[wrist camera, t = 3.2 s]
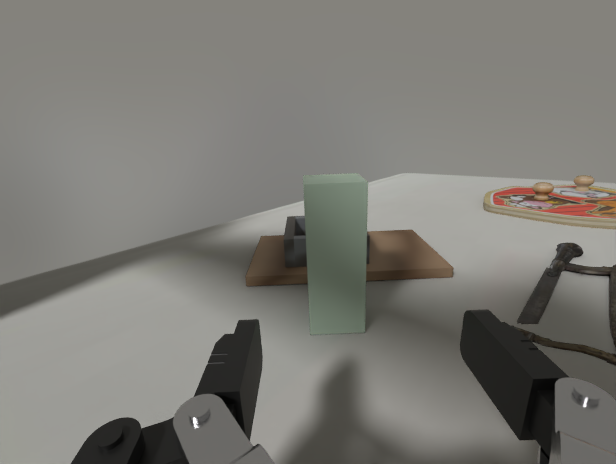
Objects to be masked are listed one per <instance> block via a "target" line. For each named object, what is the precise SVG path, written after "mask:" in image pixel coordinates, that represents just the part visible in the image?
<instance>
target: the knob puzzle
mask: <svg viewBox="0 0 616 464" xmlns="http://www.w3.org/2000/svg"><path fill="white" fill-rule="evenodd" d="M574 183H575V184H576V185H557V186H553V185H552V184H550V183H546V182H540V183H536V184H535V185H534V186H533V187H520V186H512V187H506V188H501V189H497V190H494V191H490V192H487V193H486V194H485V197H484V203H483V206H484V210H485V211H488V212H491V213H496V214H502V215H507V216H513V217H519V218H524V219H530V220H536V221H543V222H550V223H556V224H563V225H571V226H580V227H591V228H605V229H616V190H615V189H609V188H603V187H597V186H591V185H592V184H593V183H594V178H593V177H591V176H586V175H582V176H577V177H576V178H575V179H574Z"/></svg>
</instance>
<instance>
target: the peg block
mask: <svg viewBox="0 0 616 464" xmlns="http://www.w3.org/2000/svg"><path fill="white" fill-rule="evenodd" d="M303 185H304V208H305V230H306V252H307V274H308V296H309V319H310V335H322V334H344V333H365V309H366V256H367V202H368V182H367V181H366V180H365V179H364V178H363V177H361V176H360V175H359V174H358V173H353V174H328V175H305V176H303Z"/></svg>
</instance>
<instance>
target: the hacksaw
mask: <svg viewBox="0 0 616 464" xmlns="http://www.w3.org/2000/svg"><path fill="white" fill-rule="evenodd" d="M557 251H558V252H557V255H556V257H555V259H554V260H553V261H552V263H551V265H550V268H551V269H550V268H546V270H545V271H544V274H543V275H542V277H541V280H539V282H538V284H537V286H536V289H535V291H534V292H533V294H532V296H531V297H530V300H529V301H528V303H527V304H526V306H525V307H524V310H523V312H522V313H521V314H520V315H521V316H520V317H519V318H518V321H517V323H521V324H538V322H539V320H540V318H541V316H542V314H543V312H544V309H545V307H546V305H547V303H548V301H549V299H550V296H551V294H552V292H553V290H554V288H555V285H556V283H557V281H558V279H559V277H560V274H561V272H562V271H563V270H564V269H566V270H570V271H575V272H580V273H581V274H583V273H586V274H597V275H610V278H611V279H610V328H611V333H612V337H613V339H614V344H615V347H616V265H615V266H614V265H613V267H604V266H603V267H588V266H581V265H576V264H571V263H569V261H570V260H571V259H572V258H573V257H579V256H580V255H582V254H583V251H582V248H581V247H580V246H578V245H577V244H574V243H561V244H559V245H557ZM512 327H514V326H512ZM514 328H516V327H514ZM516 329H517V330H519V331H520V332H521V333H522V334H523V335H524V336H525V337H527V338H528V339H529V342H535V343H538V344H541V345H544V346H548V347H553V348H558V349H564V350H571V351H577V352H582V353H585V354H588V355H592V356H595V357H598V358H600V359H603V360H606V361H607V362H608V363H611V364H614V365H616V354H610V353H606V352H604V351H601V350H598V349H595V348H591V347H588V346H585V345H578V344H569V343H562V342H555V341H552V340H550V339H547V338H543V337H540V336H539V335H535V334H534V333H531V332H528V331H525V330H522V329H519V328H516Z"/></svg>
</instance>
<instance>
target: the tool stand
mask: <svg viewBox="0 0 616 464" xmlns="http://www.w3.org/2000/svg"><path fill="white" fill-rule="evenodd" d="M452 275H453V267H452V266H451V265H450V264H449V263H448V262H447V261H446V260H445V259H443V258H442V257H441V256H440V255H439V254H438V253H437V252H436V251H435V250H434V249H433V248H431V247H430V246H429V245H428V244H427V243H426V242H425V241H424V240H423V239H422V238H421V237H419V236H418V235H417V234H416V233H415V232H414V231H413V230H394V231H371V232H367V256H366V281H375V280H397V279H420V278H443V277H452ZM307 283H308V274H307V252H306V230H305V216H292V217H287V223H286V228H285V234H284V235H279V236H261V238H260V241H259V243H258V246H257V248H256V251H255V254H254V256H253V259H252V261H251V264H250V266H249V269H248V272H247V274H246V286H261V285H284V284H307Z"/></svg>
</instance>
